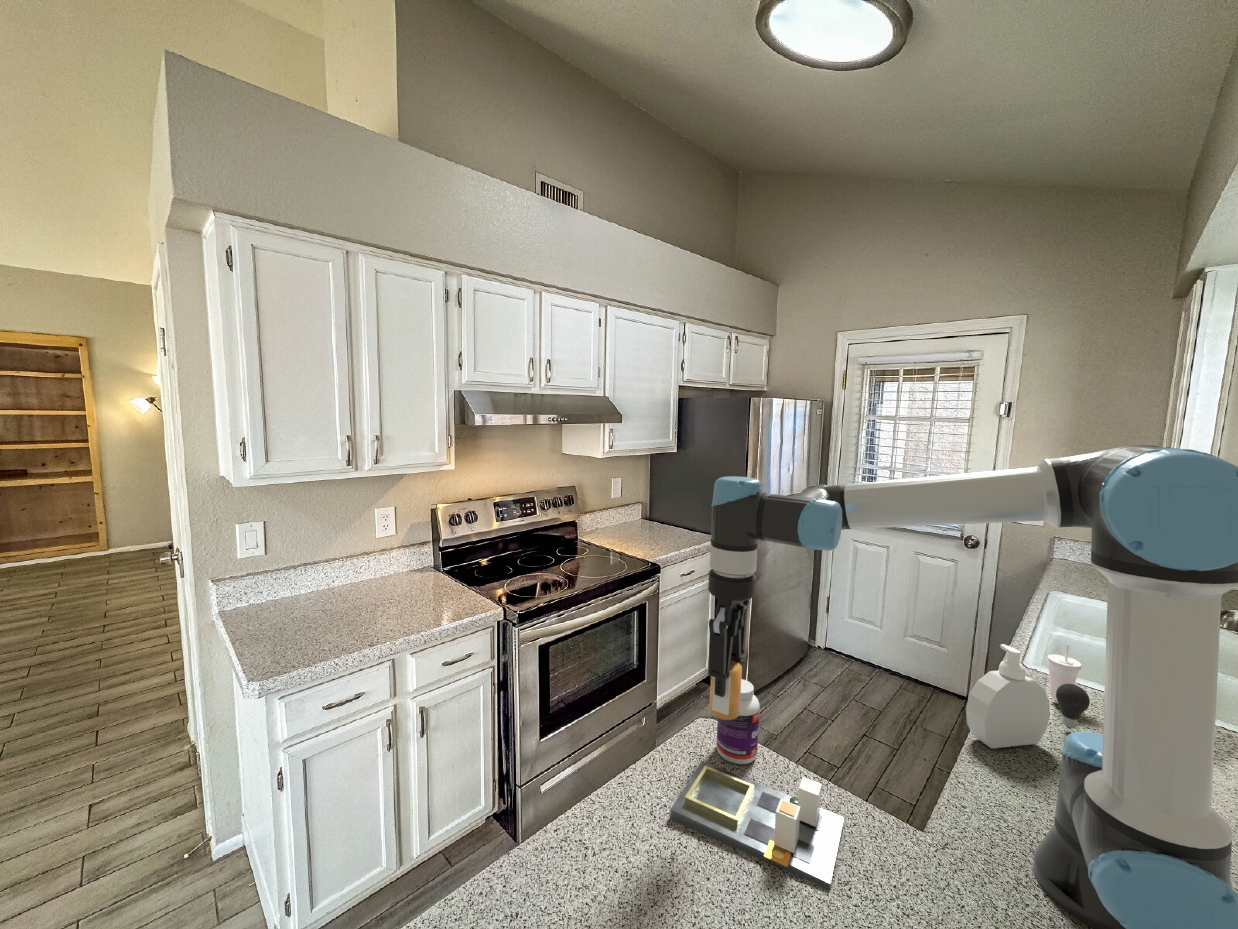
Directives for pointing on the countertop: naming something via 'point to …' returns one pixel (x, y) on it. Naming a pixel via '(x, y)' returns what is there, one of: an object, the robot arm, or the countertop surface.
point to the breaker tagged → (787, 825)
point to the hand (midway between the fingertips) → (725, 704)
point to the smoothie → (1062, 671)
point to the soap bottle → (1008, 706)
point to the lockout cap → (734, 693)
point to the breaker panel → (756, 822)
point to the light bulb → (1072, 703)
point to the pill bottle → (740, 729)
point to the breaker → (809, 801)
